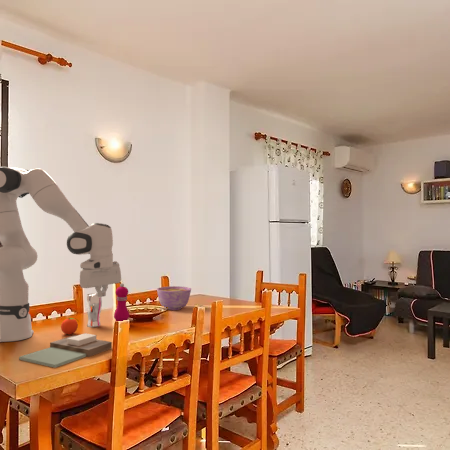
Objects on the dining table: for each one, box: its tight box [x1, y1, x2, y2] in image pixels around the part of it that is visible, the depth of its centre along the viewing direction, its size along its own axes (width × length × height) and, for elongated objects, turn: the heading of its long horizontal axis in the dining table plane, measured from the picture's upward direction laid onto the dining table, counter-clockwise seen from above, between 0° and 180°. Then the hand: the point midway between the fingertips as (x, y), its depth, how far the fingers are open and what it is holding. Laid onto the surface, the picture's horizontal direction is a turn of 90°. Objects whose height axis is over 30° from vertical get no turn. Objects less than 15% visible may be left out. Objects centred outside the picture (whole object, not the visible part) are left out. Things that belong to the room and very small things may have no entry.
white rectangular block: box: [66, 332, 97, 346], centre depth 162 cm, size 6×9×2 cm, turn 153°
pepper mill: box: [113, 282, 130, 323], centre depth 201 cm, size 7×7×20 cm
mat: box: [18, 346, 87, 369], centre depth 150 cm, size 18×14×1 cm
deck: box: [49, 335, 113, 358], centre depth 161 cm, size 20×12×2 cm, turn 63°
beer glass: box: [86, 292, 103, 328], centre depth 198 cm, size 7×7×15 cm
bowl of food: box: [156, 285, 192, 311], centre depth 242 cm, size 20×20×12 cm
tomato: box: [60, 317, 79, 335], centre depth 183 cm, size 8×7×7 cm
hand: (101, 296), depth 170 cm, fingers closed
